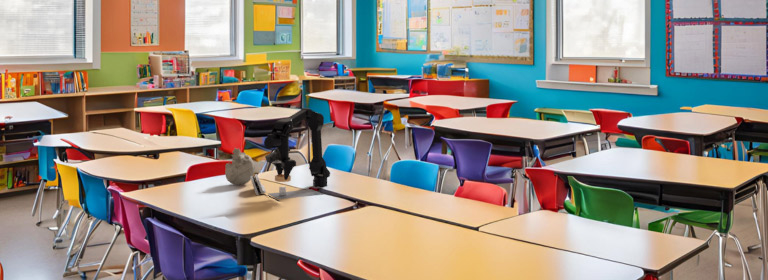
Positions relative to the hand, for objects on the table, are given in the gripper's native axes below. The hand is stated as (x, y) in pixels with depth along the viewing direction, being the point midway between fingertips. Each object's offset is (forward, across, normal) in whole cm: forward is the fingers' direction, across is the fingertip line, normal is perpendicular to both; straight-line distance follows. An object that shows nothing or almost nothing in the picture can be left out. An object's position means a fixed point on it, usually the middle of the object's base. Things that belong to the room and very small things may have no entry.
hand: (282, 178), depth 348 cm
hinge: (+10, -19, -5) cm, 22 cm away
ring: (+1, 0, 0) cm, 1 cm away
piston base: (+10, 0, +7) cm, 12 cm away
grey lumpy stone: (+10, -39, -7) cm, 41 cm away
